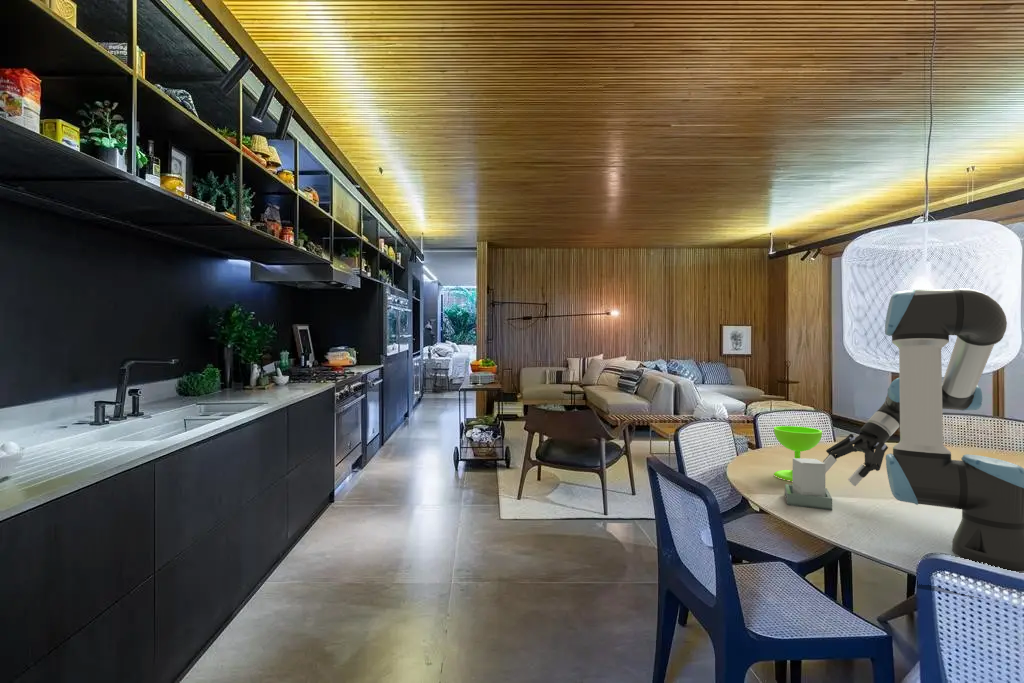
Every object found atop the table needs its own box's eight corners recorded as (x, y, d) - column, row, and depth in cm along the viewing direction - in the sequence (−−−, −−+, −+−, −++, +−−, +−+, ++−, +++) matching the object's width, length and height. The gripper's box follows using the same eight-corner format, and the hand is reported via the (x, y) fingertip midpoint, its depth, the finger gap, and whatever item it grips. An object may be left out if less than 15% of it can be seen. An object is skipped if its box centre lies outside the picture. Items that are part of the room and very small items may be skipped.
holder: (832, 510, 160) (832, 498, 160) (787, 505, 164) (787, 493, 164) (826, 499, 171) (826, 488, 171) (784, 494, 175) (785, 484, 175)
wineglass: (829, 478, 196) (829, 430, 196) (811, 486, 186) (811, 435, 185) (784, 470, 208) (784, 424, 208) (765, 476, 198) (765, 428, 198)
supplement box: (826, 504, 163) (826, 463, 163) (800, 503, 164) (800, 462, 164) (816, 497, 170) (816, 458, 170) (791, 496, 171) (791, 457, 171)
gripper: (920, 445, 158) (874, 496, 156) (856, 430, 183) (816, 475, 181) (904, 427, 157) (858, 479, 156) (842, 415, 182) (801, 460, 180)
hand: (835, 477), depth 168 cm, fingers open, 13 cm apart
